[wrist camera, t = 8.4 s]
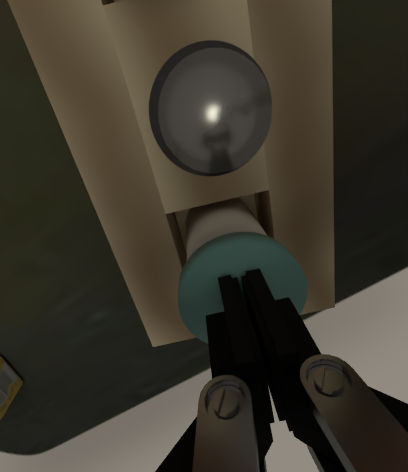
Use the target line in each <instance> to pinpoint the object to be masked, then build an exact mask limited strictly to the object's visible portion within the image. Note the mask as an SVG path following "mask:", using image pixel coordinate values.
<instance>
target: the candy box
mask: <svg viewBox="0 0 408 472" xmlns="http://www.w3.org/2000/svg"><path fill="white" fill-rule="evenodd" d="M22 384H23V381H22V379H21V378H20V377H19V376H18V375H17V374H16V372H15V371H14V370H13V369H12V368H11V366H10V365H9V364H8V363H7V362H6V361H5V360H4V359H3V358H2V356H1V355H0V420H1V419H2V417H3V415H4V414H5V412H6V410H7V409H8V407H9V405H10V404H11V402H12V400H13V399H14V397H15V395H16V394H17V392H18V391H19V389H20V387H21V386H22Z"/></svg>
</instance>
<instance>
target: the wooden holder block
mask: <svg viewBox="0 0 408 472" xmlns="http://www.w3.org/2000/svg"><path fill="white" fill-rule="evenodd" d="M8 2H9V5H10V7H11V10H12V12H13V14H14V17H15V19H16V22H17V24H18V26H19V29H20V31H21V33H22V36H23V38H24V41H25V43H26V45H27V48H28V50H29V53H30V55H31V57H32V60H33V62H34V64H35V67H36V69H37V72H38V74H39V76H40V79H41V81H42V84H43V86H44V88H45V91H46V93H47V95H48V98H49V100H50V103H51V105H52V107H53V110H54V112H55V115H56V117H57V119H58V122H59V124H60V126H61V129H62V131H63V134H64V136H65V138H66V141H67V143H68V145H69V148H70V150H71V153H72V155H73V157H74V160H75V162H76V165H77V167H78V169H79V172H80V174H81V176H82V179H83V181H84V184H85V186H86V188H87V191H88V193H89V196H90V198H91V200H92V203H93V205H94V207H95V210H96V212H97V215H98V217H99V219H100V222H101V224H102V227H103V229H104V231H105V234H106V236H107V238H108V241H109V243H110V246H111V248H112V250H113V253H114V255H115V258H116V260H117V262H118V265H119V267H120V269H121V272H122V274H123V277H124V279H125V281H126V284H127V286H128V289H129V291H130V293H131V296H132V298H133V300H134V303H135V305H136V308H137V310H138V312H139V315H140V317H141V320H142V322H143V324H144V327H145V329H146V331H147V334H148V336H149V339H150V341H151V343H152V346H153V347H155V346H160V345H165V344H169V343H174V342H178V341H183V340H187V339H192V338H196V337H195V336H194V335H193V334H192V333H191V332H190V331H189V330H188V329H187V328H186V326H185V324H184V323H183V321H182V319H181V316H180V313H179V309H178V285H179V278H180V274H181V271H182V269H183V266H184V265H185V263H186V261H187V247H186V218H187V214H188V212H189V210H190V208H194V207H198V206H202V205H207V204H211V203H215V202H219V201H224V200H228V199H232V198H237V197H239V198H241V199H242V200H243V201H244V202H245V203H246V204H247V206H248V207H249V209H250V210H251V212H252V213H253V215H254V216H255V218H256V219H257V221H258V222H259V224H260V225H261V227H262V228H263V230H264V231H265V233H266V234H267V236H269V237H271V238H273V239H275V240H277V241H278V242H280V243H281V244H283V245H284V246H285V247H286V248H287V249H288V250H289V252H290V253H291V254H292V256H293V257H294V258H295V260H296V261H297V262H298V264H299V265H300V266H301V268H302V270H303V272H304V274H305V277H306V280H307V286H308V294H307V300H306V303H305V306H304V309H303V311H302V313H301V314H306V313H310V312H315V311H319V310H324V309H329V308H333V307H335V288H334V182H333V76H332V0H8ZM205 40H217V41H224V42H227V43H230V44H233V45H235V46H237V47H239V48H241V49H242V50H244V51H245V52H246V53H248V54H249V55H250V56H251V57H252V58H253V59H254V60H255V61H256V62H257V64H258V65H259V66H260V68H261V69H262V71H263V73H264V74H265V77H266V79H267V81H268V84H269V88H270V91H271V98H272V120H271V125H270V129H269V132H268V135H267V137H266V139H265V141H264V143H263V145H262V146H261V148H260V149H259V150H258V152H257V153H256V154H255V156H254V157H253V158H252V159H251V160H250V161H249V162H247V163H246V164H245V165H243V166H242V167H240V168H239V169H237V170H235V171H233V172H231V173H228V174H224V175H220V176H200V175H195V174H192V173H189V172H187V171H185V170H183V169H181V168H179V167H178V166H176V165H175V164H174V163H172V162H171V161H170V160H169V159H168V158H167V157H166V156H165V154H164V153H163V152H162V150H161V149H160V147H159V146H158V144H157V142H156V140H155V138H154V135H153V132H152V130H151V125H150V120H149V99H150V93H151V89H152V85H153V83H154V80H155V78H156V76H157V74H158V72H159V71H160V69H161V67H162V66H163V65H164V64H165V62H166V61H167V60H168V59H169V58H170V57H171V56H172V55H173V54H174V53H176V52H177V51H178V50H180V49H181V48H183V47H185V46H187V45H189V44H192V43H195V42H199V41H205ZM301 314H300V315H301Z"/></svg>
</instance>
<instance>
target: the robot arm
mask: <svg viewBox="0 0 408 472" xmlns="http://www.w3.org/2000/svg"><path fill="white" fill-rule="evenodd" d="M241 278H242V284H243V289H244V294H245V299H246V303H245V300H244V297H243V294H242V291H241V288H240V284H239V281H238V278H237V277H235V278H232V277H231V275H227V276H223V277H218V283H219V287H220V292H221V297H222V302H223V307H224V311H223V312H219V313H214V314H210V315H206V327H207V336H208V345H209V354H210V363H211V372H212V380H210V381H209V382H208V383H207V384H206V385H205V386H204V388H203V389H202V391H201V394H200V398H199V403H198V414H197V417H196V418H195V420H194V421H193V422H192V424H191V425H190V426H189V428H188V429H187V430H186V432H185V433H184V434H183V436H182V437H181V438H180V440H179V441H178V442H177V444H176V445H175V446H174V447H173V449H172V450H171V451H170V453H169V454H168V455H167V457H166V458H165V459H164V461H163V462H162V463H161V465H160V466H159V467H158V469H157V470H156V471H155V472H267V470H266V461H265V456H266V454H267V452H268V450H269V448H270V446H271V444H272V442H273V438H272V433H271V428H270V423H274V417H273V411H272V405H271V400H270V394H269V389H270V392H271V396H272V399H273V401H274V405H275V409H276V412H277V415H278V418H279V421H284V420H286V423H287V426H288V428H289V431H293V434H294V436H295V437H296V438H297V439H299V440H300V441H302V442H303V443H305V444H307V447H308V449H309V452H310V454H311V456H312V458H313V460H314V462H315V464H316V465H317V468H318V469H319V472H408V404H407V403H404V402H402V401H400V400H398V399H395V398H393V397H391V396H389V395H386V394H384V393H382V392H380V391H377V390H375V389H373V388H371V387H369V386H367V385H366V383H365V382H364V381H363V380H362V379H361V378H360V377H359V375H358V374H357V373H356V372H355V371H354V369H353V368H352V367H351V366H350V365H349V364H347V363H346V362H345V361H343V360H341V359H340V358H338V357H334V356H331V355H323V354H321V353H320V351H319V349H318V347H317V346H316V344H315V342H314V340H313V339H312V337H311V335H310V333H309V331H308V330H307V328H306V326H305V324H304V322H303V321H302V319H301V317H300V315H299V314H298V312H297V310H296V308H295V306H294V305H293V303H292V301H291V300H290V298H289V297H286V298H282V299H277V300H275V299H274V297H273V295H272V293H271V291H270V289H269V287H268V285H267V283H266V281H265V278H264V276H263V274H262V272H261V270H260V269H254V270H250V271H246V275H244V276H241ZM246 305H247V306H246ZM268 386H269V388H268Z"/></svg>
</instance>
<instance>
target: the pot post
mask: <svg viewBox="0 0 408 472" xmlns="http://www.w3.org/2000/svg"><path fill="white" fill-rule="evenodd" d="M149 120H150V125H151V130H152V132H153V135H154V138H155V140H156V142H157V144H158V146H159V147H160V149H161V150H162V152H163V153H164V154H165V156H166V157H167V158H168V159H169V160H170V161H171V162H172V163H174V164H175V165H176V166H178V167H179V168H181V169H183V170H185V171H187V172H189V173H192V174H195V175H200V176H220V175H224V174H228V173H231V172H233V171H235V170H237V169H239V168H240V167H242V166H243V165H245V164H246V163H247V162H249V161H250V160H251V159H252V158H253V157H254V156H255V154H256V153H257V152H258V150H259V149H260V148H261V146H262V145H263V143H264V141H265V139H266V137H267V135H268V132H269V129H270V125H271V120H272V98H271V91H270V88H269V84H268V81H267V79H266V77H265V74H264V73H263V71H262V69H261V68H260V66H259V65H258V64H257V62H256V61H255V60H254V59H253V58H252V57H251V56H250V55H249V54H248V53H246V52H245V51H244V50H242V49H241V48H239V47H237V46H235V45H233V44H230V43H227V42H224V41H217V40H205V41H199V42H195V43H192V44H189V45H187V46H185V47H183V48H181V49H180V50H178V51H177V52H176V53H174V54H173V55H172V56H171V57H170V58H169V59H168V60H167V61H166V62H165V64H164V65H163V66H162V67H161V69H160V71H159V72H158V74H157V76H156V78H155V80H154V83H153V85H152V89H151V93H150V99H149Z"/></svg>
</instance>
